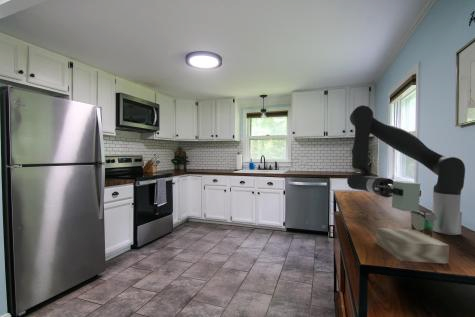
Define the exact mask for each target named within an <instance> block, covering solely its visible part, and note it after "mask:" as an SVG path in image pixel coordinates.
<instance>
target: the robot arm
mask: <svg viewBox="0 0 475 317" xmlns="http://www.w3.org/2000/svg"><path fill="white" fill-rule="evenodd" d="M349 121H350V123H351V125H353V126H354V139H353V140H354V141H353V144H352V145H353V146H352V151H351V152H352V153H351V154H352V156H351V167H352V168H353V169H355V170H358V171H359V172H360V174H359V173H358V174H357V173H352V174H350V175H349V176H348V177H347V179H346V183H347V185H348V187H349V188H350V189H353V190H359V191H365V192H367V193H371V194H374V195H377V196H380V197H384V198H391V197H392V195H394V194H395V195H399V196H403V190H402V189H397V188H394V187H393V181H394V180H393V179H391V178H389V177H382V176H372V175H371V170H370V166H369V155H370V154H369V153H370V152H369V149H370V148H369V147H370V134H371V135H372V136H373V137H375V138H377V139H378V140H380V141H382V142H383V143H385V144H386V145H387V146H390V147H391V148H392V149H394V150H396V151H398V152H400V153H401V154H402V155H405V156H407V157H409V158H411V159H412V160H415V161H417V162H418V163H420V164H422V165H423V166H424V167H425V168H427V169H428V170H429V171H431V172H433V174H435V175H437V181H436V184H434V186H433V188H432V189H433V192H432V210H431V212H433V213H435V215H436V218H437V220H434V227H433V232H436V233H438V234H443V235H449V236H458V235H461V234H462V217H463V212H462V211H461V196H462V190H463V188H464V186H465V176H466V175H465V174H466V167H465V162H464V161H463V160H462V159H460V158H459V157H455V156H445V155H442V154H440V153H438V152H437V151H434V150H432V149H431V148H429V147H427V145H426V144H425V143H423V142H422V140H420V139H419V138H418V137H417V136H415V135H414V134H412V133H410V132H409V131H407V130H405V129H403V128H400V127H398V126H394V125H392V124H388V123H385V122H382V121H380V120H378V119H377V118H376V117H374V110H373V109H372V107H370V106H368V105H366V104H363V105H359V106H357V107H356V108H354V110H353V111H352V112H351V113H350V115H349ZM421 196H422V190H421V189H420V197H421Z"/></svg>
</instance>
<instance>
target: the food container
mask: <svg viewBox="0 0 475 317" xmlns="http://www.w3.org/2000/svg"><path fill="white" fill-rule="evenodd" d="M410 214H411V215H410V217H411V218H410V219H411V222H410V225H411V226H410V230H417V231H419V232H421V233H424V234H426V235H428V236H430V237H432V238H433V233H434V231H433V227H434V220H437V218H436V215H435V213H433V212H432V211H429V210H425V209H420V208H419V211H410Z"/></svg>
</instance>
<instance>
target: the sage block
mask: <svg viewBox="0 0 475 317" xmlns="http://www.w3.org/2000/svg"><path fill="white" fill-rule="evenodd" d="M393 187H394V188H397V189H402V190H403V196H399V195H395V194H394V195H392V196H391V197H392V198H391V208H393V209H396V210H398V211H402V212H411V211H419V209H420V197H421V196H420V190H421V183H419V182H413V181H402V180H401V181H399V180H393Z"/></svg>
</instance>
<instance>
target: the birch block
mask: <svg viewBox="0 0 475 317" xmlns="http://www.w3.org/2000/svg"><path fill="white" fill-rule="evenodd" d="M375 244H376V245H378V246H379V247H381V248H382V249H383V250H384V251H386V252H388V253H389V254H390V255H392V256H393V257H394V258H396V259H398V260H399V261H401V262H417V263H418V262H419V263H431V264H446V263H448V264H449V256H450V255H449V253H450V244H447V243H445V242H443V241H441V240H439V239H437V238H434V237H433V236H432V237H430V236H428V235H426V234H424V233H421V232H419V231H417V230H411V229H406V228H405V229H401V228H383V227H377V228H376V240H375Z"/></svg>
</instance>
